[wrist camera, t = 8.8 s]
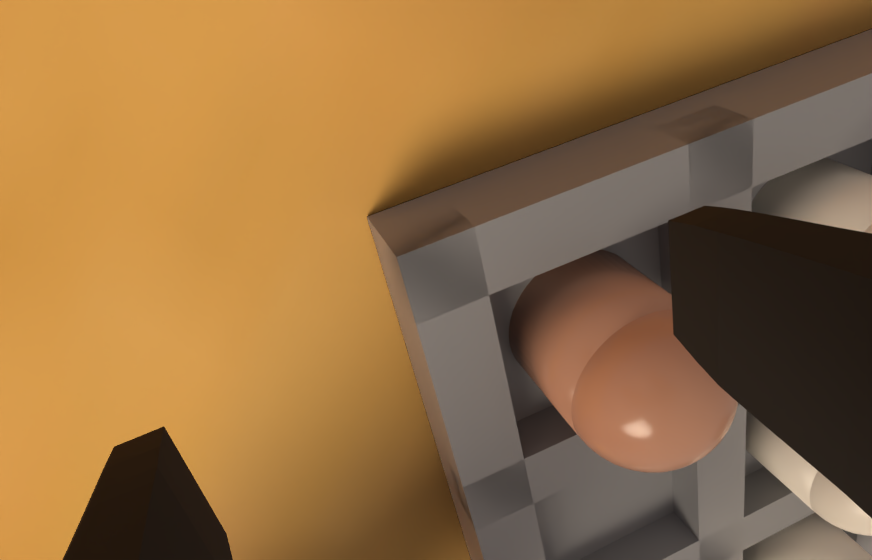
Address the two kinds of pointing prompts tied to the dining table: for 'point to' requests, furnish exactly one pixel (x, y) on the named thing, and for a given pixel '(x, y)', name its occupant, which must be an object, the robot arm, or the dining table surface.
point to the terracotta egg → (618, 365)
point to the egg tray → (649, 253)
